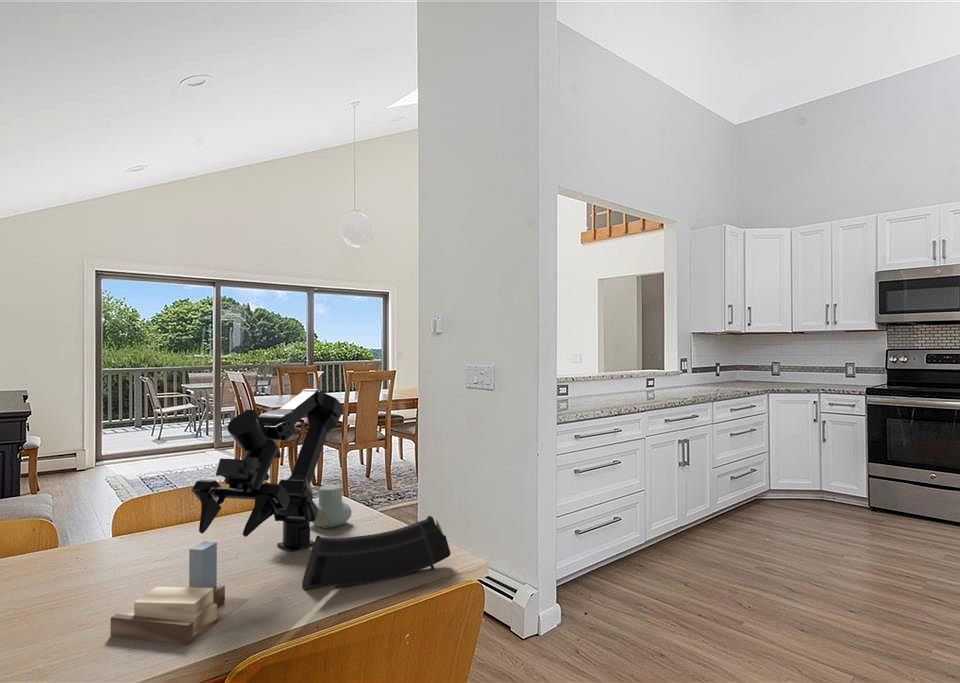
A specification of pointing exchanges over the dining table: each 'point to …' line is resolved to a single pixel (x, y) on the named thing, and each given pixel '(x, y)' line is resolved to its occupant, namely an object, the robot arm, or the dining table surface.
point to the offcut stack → (178, 605)
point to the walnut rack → (171, 623)
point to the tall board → (203, 565)
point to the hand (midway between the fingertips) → (222, 534)
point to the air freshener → (331, 507)
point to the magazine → (375, 555)
